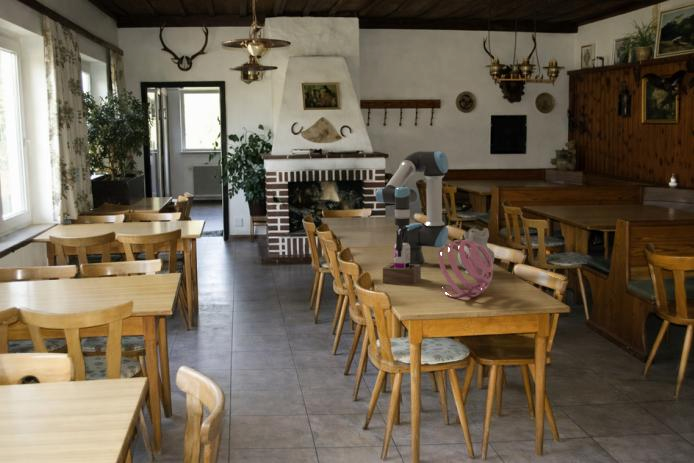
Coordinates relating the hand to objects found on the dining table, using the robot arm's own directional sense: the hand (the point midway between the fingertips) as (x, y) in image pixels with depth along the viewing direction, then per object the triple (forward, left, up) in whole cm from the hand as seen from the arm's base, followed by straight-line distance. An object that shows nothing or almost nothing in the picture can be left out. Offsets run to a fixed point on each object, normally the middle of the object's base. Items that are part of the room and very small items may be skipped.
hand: (402, 261), depth 393 cm
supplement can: (0, 0, -6) cm, 6 cm away
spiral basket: (+26, +37, -10) cm, 47 cm away
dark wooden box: (0, 0, -10) cm, 10 cm away
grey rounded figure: (-31, +33, -10) cm, 46 cm away
